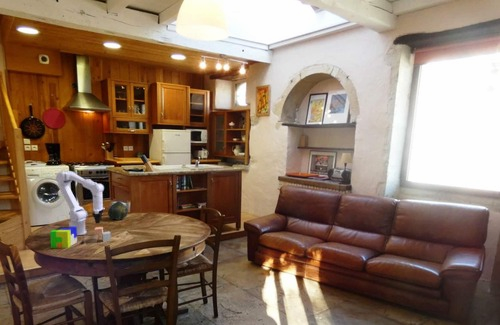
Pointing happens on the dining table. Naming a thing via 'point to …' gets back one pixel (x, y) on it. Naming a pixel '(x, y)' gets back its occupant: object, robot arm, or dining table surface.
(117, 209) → the squash
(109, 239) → the light grey block
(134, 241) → the dining table surface
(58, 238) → the puzzle toy
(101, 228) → the peach block
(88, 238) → the wood slab
